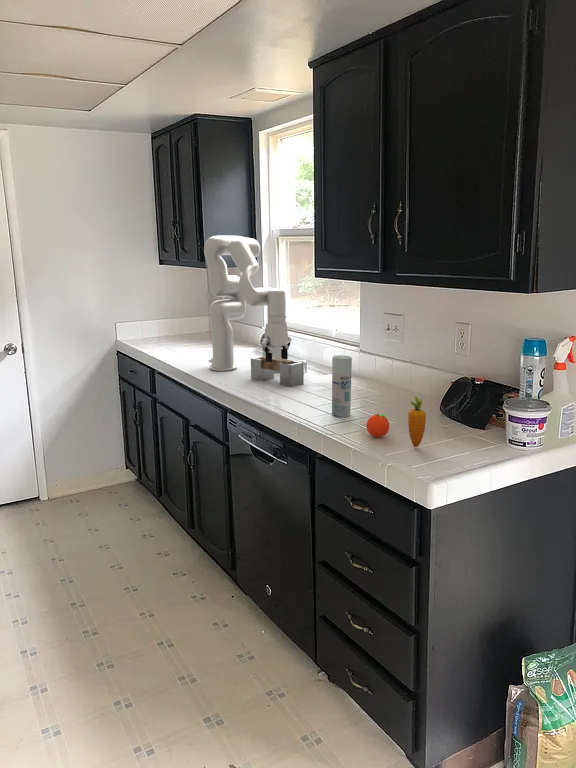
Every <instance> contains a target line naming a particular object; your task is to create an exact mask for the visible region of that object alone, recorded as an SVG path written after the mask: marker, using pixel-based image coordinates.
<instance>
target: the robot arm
mask: <svg viewBox="0 0 576 768" xmlns="http://www.w3.org/2000/svg"><path fill="white" fill-rule="evenodd" d="M203 253H204V258H205V260H206V265H207V269H208V270H207V272H208V280H209V288H210V294H211V295H212V296H213V297H216V298H225V297H227V298H228V297H229V298H228V299H219V300H215V301H213V302H212V303H211V304H210V305H209V309H208V313H209V318H210V322H211V337H212V340H211V341H212V342H211V343H212V357H211V358H210V359H208V363H211V365H209V369H210V370H212V371H214V372H215V371H216V372H229V371H234V370H237V369H238V365H236V364H234V362H235V361H234V330H233V327H232V325H231V324H230V321H235V320H240V319H243V318H244V317H245V316H246V312H247V305H246V303H247V304H248V306H250V307H256V308H257V307H267V308H266V309H267V322H265V323H266V324H265V327H264V338H263V339H264V341H263V342H261V343H260V345H261V346H262V347H263V348H262V347H261V348H262V351H263V350H264V352H266V362H272V353H271V351H272V349H273V347H280V346H281V347H282V349H281V358H282V359H286V360H289V358H288V357H289V355H288V350H290V349H289V347H290V346H291V343H292V337H290V336H288V335H289V334H288V333H289V331H288V326H287V321H286V320H287V314H286V313H287V312H286V310H287V309H286V308H287V306H286V304H287V303H286V302H287V301H286V290H284V289H282V288H281V289H280V288H274V287H254V285H253V284H252V282H251V280H250V277H252V276H254V275H256V273H257V272H258V270H259V268H260V267H259V263H258V261H257V259H256V258H257V257H259V255H260V253H261V246H260V243H259V242H258V240H256V239H255V238H251V237H245V236H241V235H213V236H211V237H208V239H206V241H205V243H204V247H203ZM222 256H230V257H231V259H232V260H233V262H234V263H235V266H236V269H237V270H238V271H239V274H240V276H238V275H235V274H233V275H232V274H231V275H230V274H228V266H227V264H226V261H225V260H224V258H223V257H222Z"/></svg>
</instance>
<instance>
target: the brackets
mask: <svg viewBox="0 0 576 768" xmlns="http://www.w3.org/2000/svg"><path fill="white" fill-rule="evenodd" d="M260 357H265V356H263V355H262V356H261V355H260V356H256V357H251V358H250V380H254V379H256V380H255V381H259V380H263V381H266V380H271V378H272V379H274V378H275V372H274V370H269V369H264V368H262V360H261V359H260ZM293 361H294V364H285V363H280V372H279V385H280V386H284V387H288V388H289V387H290V388H292V387H295V386H296V385H297V386H300V384H301V385H304V384H303V383H304V381H305V379H304V378H305V375H304V374H305V373H304V372H305V366H304V364H305V363H304V362H303V361H296V360H293Z"/></svg>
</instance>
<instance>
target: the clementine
mask: <svg viewBox="0 0 576 768" xmlns="http://www.w3.org/2000/svg"><path fill="white" fill-rule="evenodd" d="M388 418H389V419H388ZM389 420H392V419H391V417H389V416H388V415H385V414H379V413H377V414H376V413H375V414H373V415H371V416H370V417H369V418H368V419H367V421H366V425H365V427H366V431H367V432H368V434H369V435H370V436H372V437H374V438H383V437H384V436H386V435H387V434H388V432H389V431H390V421H389Z"/></svg>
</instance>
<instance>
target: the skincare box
mask: <svg viewBox="0 0 576 768" xmlns="http://www.w3.org/2000/svg"><path fill="white" fill-rule="evenodd" d="M261 341H262V342H263V341H264V338H262V339H261ZM262 342H261V343H262ZM261 348H262V356H266V352H264V350H263V347H261ZM281 349H282V347H281V346H280V347H273V349H272V351H271V353H272V357H274V358H280V359H282V358H281ZM277 372H278V373H280V372H279V371H274V373H277Z"/></svg>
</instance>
